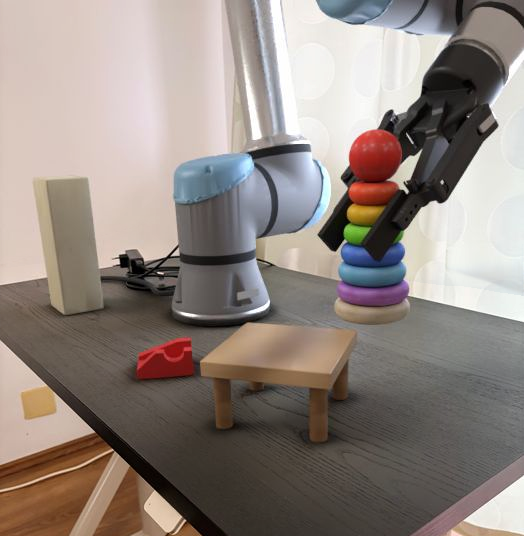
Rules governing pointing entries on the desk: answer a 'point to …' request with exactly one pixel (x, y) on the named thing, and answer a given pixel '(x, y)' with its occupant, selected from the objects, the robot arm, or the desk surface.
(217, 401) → the stool
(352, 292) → the stacking toy
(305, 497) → the desk surface
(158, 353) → the red notched block
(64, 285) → the white rectangular block
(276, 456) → the desk surface
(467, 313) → the desk surface
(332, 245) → the robot arm
